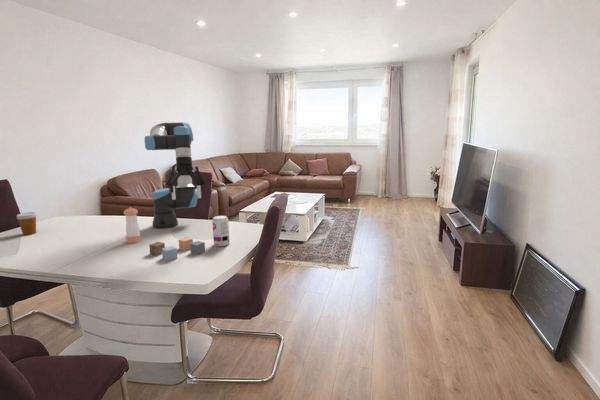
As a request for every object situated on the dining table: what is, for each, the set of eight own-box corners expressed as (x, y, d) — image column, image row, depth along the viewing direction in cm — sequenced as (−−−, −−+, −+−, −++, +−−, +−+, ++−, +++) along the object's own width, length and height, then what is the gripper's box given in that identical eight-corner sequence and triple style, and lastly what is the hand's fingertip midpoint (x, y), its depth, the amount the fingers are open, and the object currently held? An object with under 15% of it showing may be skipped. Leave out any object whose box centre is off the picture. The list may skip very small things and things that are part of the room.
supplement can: (214, 247, 182) (212, 219, 179) (213, 242, 190) (212, 215, 187) (230, 246, 185) (228, 218, 182) (228, 241, 192) (227, 214, 189)
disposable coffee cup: (43, 231, 213) (40, 212, 211) (30, 236, 204) (26, 216, 202) (29, 231, 214) (25, 212, 212) (15, 235, 205) (11, 215, 203)
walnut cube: (150, 254, 174) (149, 244, 173) (158, 251, 179) (157, 241, 178) (157, 255, 172) (156, 246, 171) (165, 252, 176) (164, 243, 175)
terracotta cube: (179, 248, 182) (178, 239, 181) (187, 246, 186) (186, 237, 184) (184, 250, 179) (184, 241, 178) (193, 248, 182) (192, 238, 181)
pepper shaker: (135, 243, 190) (131, 209, 186) (123, 242, 191) (119, 208, 187) (143, 239, 197) (140, 206, 193) (132, 238, 198) (128, 205, 194)
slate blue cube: (162, 258, 169) (161, 248, 168) (172, 255, 172) (172, 246, 171) (167, 261, 165) (166, 251, 164) (177, 258, 168) (176, 248, 167)
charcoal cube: (190, 253, 175) (189, 243, 174) (198, 250, 179) (197, 240, 178) (197, 255, 173) (196, 245, 172) (205, 252, 177) (204, 242, 176)
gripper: (162, 155, 167) (165, 199, 167) (209, 156, 184) (212, 197, 184) (156, 157, 173) (159, 200, 173) (202, 159, 190) (206, 198, 189)
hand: (187, 198), depth 178 cm, fingers open, 13 cm apart
